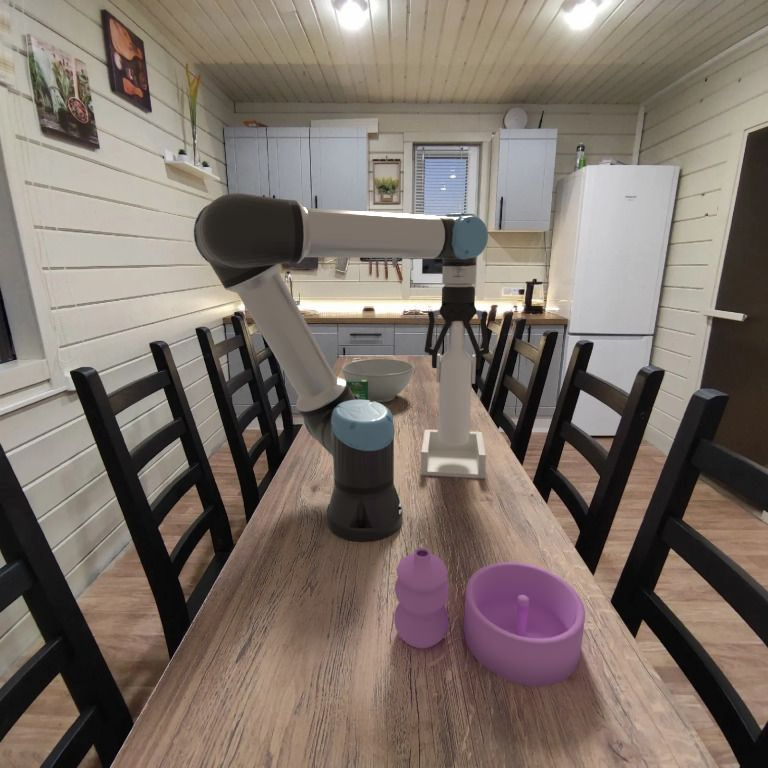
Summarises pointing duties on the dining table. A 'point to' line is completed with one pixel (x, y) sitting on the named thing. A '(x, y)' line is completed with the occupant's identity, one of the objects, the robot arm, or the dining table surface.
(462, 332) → the bottle
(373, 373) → the decorative bowl
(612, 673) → the dining table surface
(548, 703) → the dining table surface
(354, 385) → the coffee box
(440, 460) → the bottle rest
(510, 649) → the container set
